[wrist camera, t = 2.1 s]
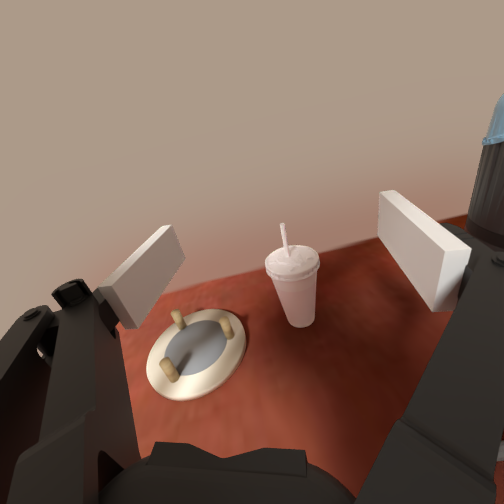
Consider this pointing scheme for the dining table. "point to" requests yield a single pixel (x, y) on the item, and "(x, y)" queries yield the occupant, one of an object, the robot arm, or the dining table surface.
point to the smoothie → (295, 280)
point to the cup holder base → (196, 354)
